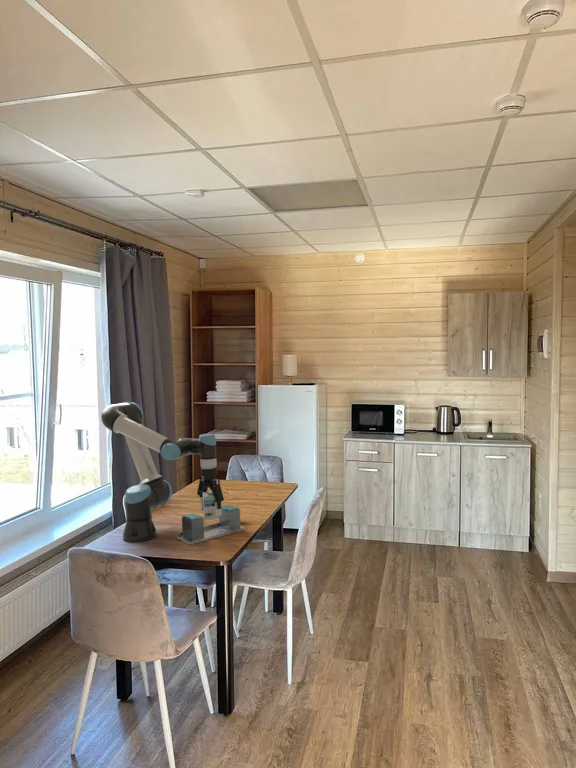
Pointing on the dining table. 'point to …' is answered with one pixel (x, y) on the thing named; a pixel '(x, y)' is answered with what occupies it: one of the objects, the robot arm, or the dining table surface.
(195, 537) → the grey u-shaped stand
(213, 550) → the dining table surface
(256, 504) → the dining table surface
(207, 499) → the light bulb box
